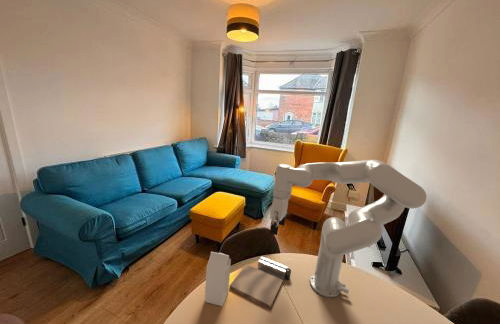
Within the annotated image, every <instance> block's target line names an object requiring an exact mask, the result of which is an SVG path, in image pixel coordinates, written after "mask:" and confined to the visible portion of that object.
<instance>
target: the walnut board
mask: <svg viewBox="0 0 500 324" xmlns="http://www.w3.org/2000/svg"><path fill="white" fill-rule="evenodd" d="M283 283H284V280H283V279H281V278H278V277H276V276H274V275H271V274H269V273H267V272H264V271H262V270H260V269H258V267H254V266H252V265H249V264H245V266H244V267H243V268H242V269H241V271H239V273H238V274H237V275H236V276H235V278H234V279H233V280H232V281H231V283H229V288H228V290H229V289H230V290H231V291H233V292H235V293H238V294H239V295H242V296H243V297H245V298H247V299H249V300H252V301H253V302H255V303H257V304H259V305H260V306H263V307H265V308H267V309H269V310H271V308H272V307H273V304H274V302H275V300H276V298H277V295H278V293H279V291H280V290H281V287H282V285H283Z"/></svg>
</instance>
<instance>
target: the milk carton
mask: <svg viewBox="0 0 500 324" xmlns="http://www.w3.org/2000/svg"><path fill="white" fill-rule="evenodd" d="M231 261H232V259H231V258H230V255H228V254H225V253H222V252H214V251H210V254H209V259H208V262H207V264H206V272H205V289H204V302H205V303H209V304H212V305H216V306H220V307H223V306H224V303H225V301H226V297H227V295H228V293H229V287H230V273H231Z"/></svg>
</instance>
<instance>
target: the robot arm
mask: <svg viewBox="0 0 500 324" xmlns="http://www.w3.org/2000/svg"><path fill="white" fill-rule="evenodd" d="M274 177H275V178H274V184H273V185H274V186H273V191H272V192H273V194H272V196H273V199H272V202H271V208H270V212H269V213H270V214H269V219H270V220H271V221H270V229H269V233H270V234H271V235H275V236H278V231H279V225H280V226H285V222H286V216H287V212H288V206H289V200H290V199H291V196H292V191H293V185H294V186H298V187H300V188H306V187H307V188H308V187H309V186H311V185H312V183H313V181H315V180H323V181H324V180H326V181H330V182H332V183H333V182H334V183H336V184H340V185H347V184H361V183H362V184H363V183H364V184H365V183H370V185H372V186H373V187H375V189H378V191H379V192H381V193H383V195H382V196H381V197H380V198H379V199H377V200H376V201H373V202H372V203H369V204H367V205H364V206H362V207H361V206H360V207H359V208H356V209H354V210H352V211H350V212H349V214H348V216H347V221H348V225H347V224H346V223H345V221H343V220H342V219H341V218H339V217H336V216H331V217H329V218H326V220H324V222H323V223H322V224H323V225H322V228H321V235H320V244H319V249H318V254H317V259H316V263H315V264H316V265H315V270H314V271H315V272H314V273H313V274H312V275H311V276H310V278H309V284H310V286H311V288H312V289H313V290H314V292H316V293H317V294H319V295H321V296H323V297H326V298H336V297H337V296H339V294H340V293H341V292H342V293H345V294H349V292H350V289H349V288H348V287H347V285H346V283H343V282H341V281H340V272H341V267H342V263H343V259H344V255H348V254H351V253H353V252H357V251H359V250H363V249H365V248H368V247H371V246H373V245H375V244H377V242H379V241H380V239H382V235H383V229H382V226H383V225H386V224H387V223H390V222H392V221H394V220H396V219H397V218H399V217H400V216H401V214H402V213H403V212H404V210H405V208H407V209H419V208H420V207H422V206H423V205H424V204H426V202H427V197H428V196H427V192H426V190H425V189H424V188H423V187H422V186H421V185H419V184H417V183H416V182H414V181H413V180H412V179H410V178H409V177H407V176H406V175H404V174H402V173H401V172H400V171H398V170H397V169H395V168H394V167H392V166H391V164H388V163H386V162H384V161H382V160H379V159H361V160H353V161H342V162H341V161H340V162H333V161H332V162H312V163H311V162H310V163H305V164H303V163H302V164H299V165H298V166H297V167H296V168H295V166H293V165H291V164H288V163H287V164H286V163H279V164H278V165H276V169H275V176H274Z"/></svg>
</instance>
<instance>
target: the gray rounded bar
mask: <svg viewBox="0 0 500 324" xmlns="http://www.w3.org/2000/svg"><path fill="white" fill-rule="evenodd" d="M257 269H259V270H261V271H264V272H266V273H268V274H271V275H273V276H275V277H277V278H280V279H282V280H283V281H284V280H285V281H289V280H291V274H292V270H291V268H289V267H288V266H287V265H284V264H282V263H279V262H278V261H274V260H271V259H269V258H267V257H264V256H260V259H259V260H258V262H257Z"/></svg>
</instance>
